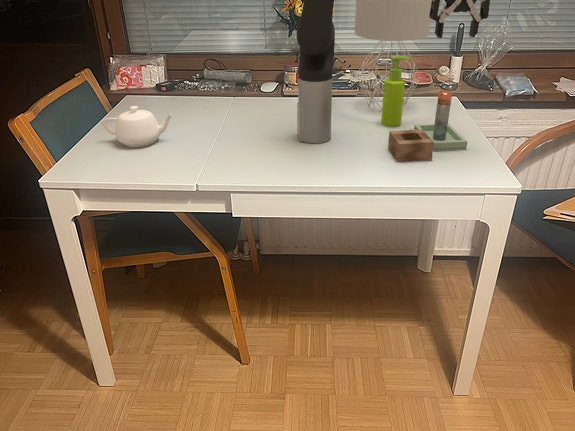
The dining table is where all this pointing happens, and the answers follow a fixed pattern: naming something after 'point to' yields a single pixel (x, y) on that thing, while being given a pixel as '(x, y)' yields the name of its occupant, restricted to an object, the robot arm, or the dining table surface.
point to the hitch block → (410, 145)
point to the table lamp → (391, 29)
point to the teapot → (136, 127)
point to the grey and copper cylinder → (442, 115)
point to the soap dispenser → (393, 95)
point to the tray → (450, 143)
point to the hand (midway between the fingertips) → (455, 37)
